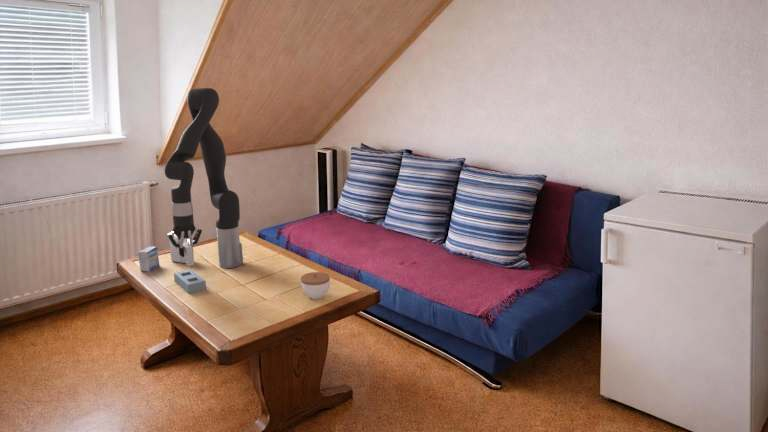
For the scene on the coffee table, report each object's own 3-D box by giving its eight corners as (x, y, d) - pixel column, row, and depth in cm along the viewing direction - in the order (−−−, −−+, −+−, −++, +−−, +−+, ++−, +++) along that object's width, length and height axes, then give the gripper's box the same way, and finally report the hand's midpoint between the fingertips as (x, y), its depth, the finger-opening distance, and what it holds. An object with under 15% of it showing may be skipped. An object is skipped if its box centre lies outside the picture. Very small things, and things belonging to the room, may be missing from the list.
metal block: (185, 257, 251) (184, 241, 249) (194, 264, 243) (193, 247, 241) (179, 258, 249) (178, 242, 248) (188, 265, 242) (186, 248, 240)
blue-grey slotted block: (191, 277, 257) (190, 269, 256) (206, 289, 245) (205, 280, 244) (174, 281, 253) (173, 272, 252) (188, 293, 241) (187, 284, 240)
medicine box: (149, 272, 263) (147, 252, 261) (140, 271, 264) (137, 251, 262) (159, 265, 271) (157, 246, 268) (150, 264, 272) (148, 245, 269)
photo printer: (169, 261, 275) (166, 234, 272) (176, 258, 279) (173, 232, 276) (189, 264, 272) (186, 237, 268) (195, 261, 276) (192, 234, 272)
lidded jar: (306, 303, 230) (305, 280, 228) (298, 293, 240) (297, 270, 237) (334, 299, 234) (333, 275, 232) (325, 288, 244) (324, 266, 241)
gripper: (197, 208, 248) (200, 249, 252) (161, 213, 240) (165, 256, 245) (204, 212, 242) (207, 254, 247) (167, 217, 234) (171, 261, 239)
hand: (186, 255), depth 246 cm, fingers closed on metal block, 2 cm apart
